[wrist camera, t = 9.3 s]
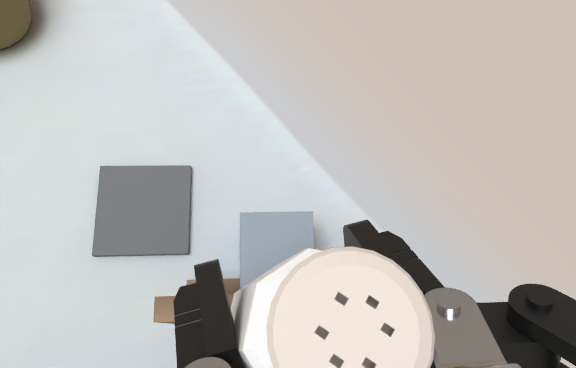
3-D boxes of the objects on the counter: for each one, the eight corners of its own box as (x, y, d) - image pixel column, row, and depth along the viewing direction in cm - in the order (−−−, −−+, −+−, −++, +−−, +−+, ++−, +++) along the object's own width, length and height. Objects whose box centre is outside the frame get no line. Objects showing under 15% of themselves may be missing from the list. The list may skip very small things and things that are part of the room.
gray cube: (309, 291, 35) (318, 285, 30) (241, 293, 35) (240, 287, 30) (306, 226, 37) (314, 211, 32) (241, 227, 36) (239, 212, 31)
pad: (188, 254, 35) (188, 253, 35) (94, 256, 35) (92, 255, 34) (191, 168, 37) (190, 165, 37) (102, 168, 37) (100, 166, 36)
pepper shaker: (313, 443, 17) (423, 623, 6) (191, 355, 17) (106, 385, 7) (385, 313, 18) (569, 284, 8) (273, 237, 19) (304, 115, 8)
